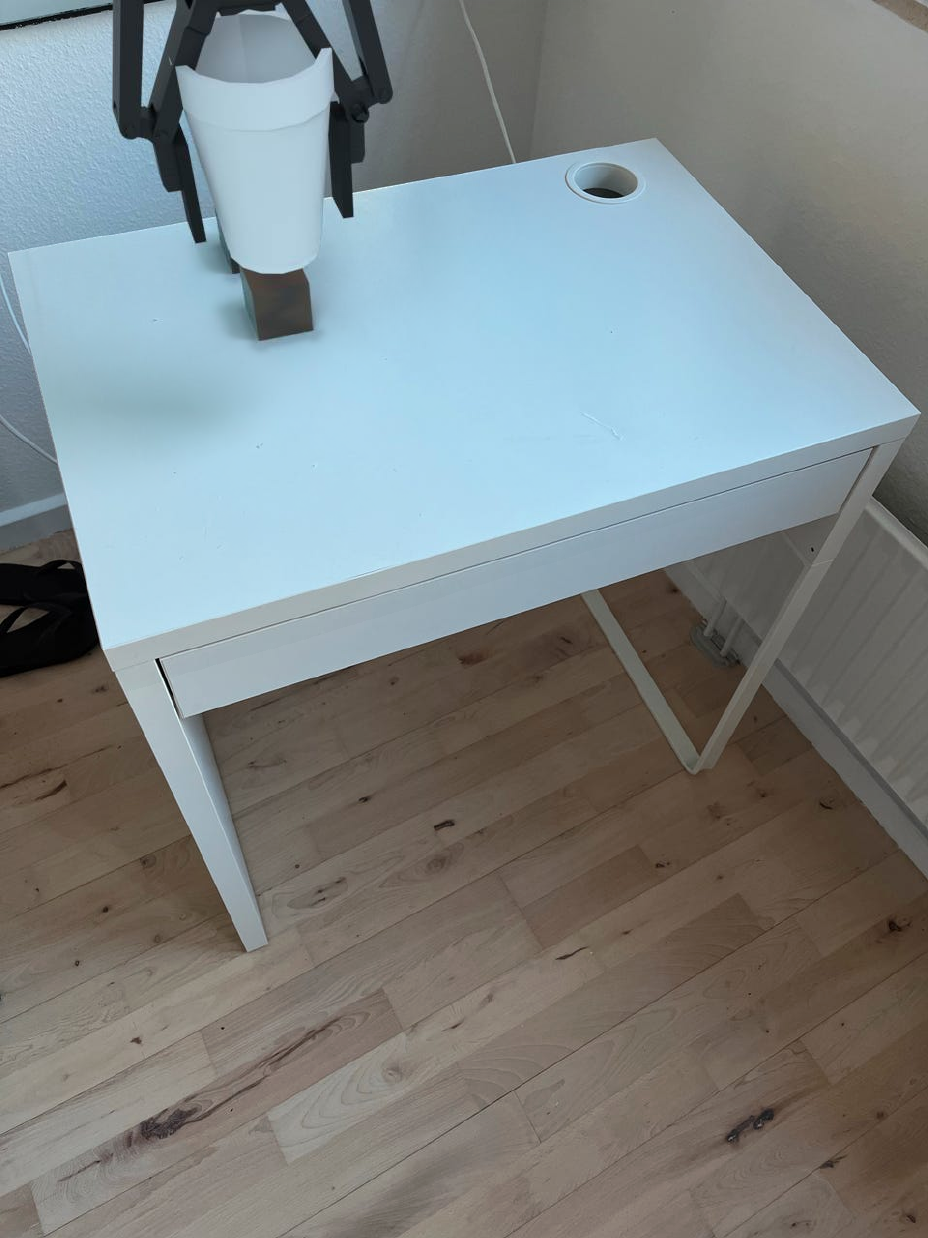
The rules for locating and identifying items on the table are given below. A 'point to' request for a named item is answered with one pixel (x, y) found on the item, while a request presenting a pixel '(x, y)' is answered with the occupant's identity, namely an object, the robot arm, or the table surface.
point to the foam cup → (262, 136)
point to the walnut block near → (277, 302)
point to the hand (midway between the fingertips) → (271, 218)
